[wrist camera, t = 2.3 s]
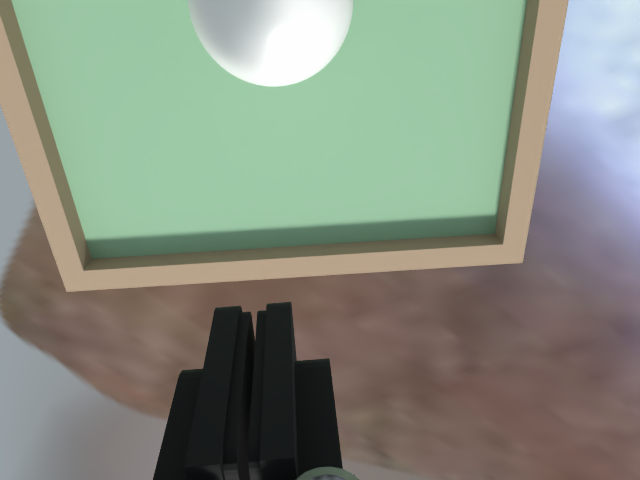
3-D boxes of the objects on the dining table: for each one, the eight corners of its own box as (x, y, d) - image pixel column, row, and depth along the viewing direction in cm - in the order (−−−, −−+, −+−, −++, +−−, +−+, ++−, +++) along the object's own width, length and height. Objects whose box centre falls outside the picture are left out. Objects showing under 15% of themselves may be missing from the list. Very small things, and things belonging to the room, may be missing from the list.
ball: (344, -93, 16) (362, -116, 12) (347, 67, 19) (363, 98, 14) (190, -85, 16) (151, -104, 12) (213, 75, 19) (188, 108, 14)
